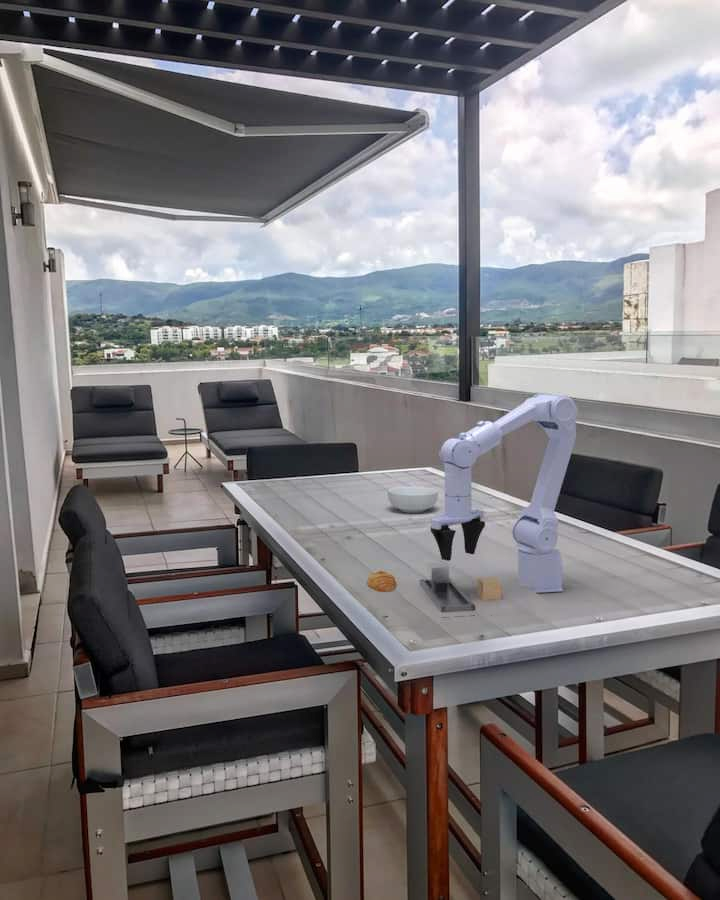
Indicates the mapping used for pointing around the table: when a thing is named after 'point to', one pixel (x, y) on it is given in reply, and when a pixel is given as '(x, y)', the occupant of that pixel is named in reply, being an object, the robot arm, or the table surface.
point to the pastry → (382, 581)
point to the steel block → (438, 576)
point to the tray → (449, 598)
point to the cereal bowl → (412, 498)
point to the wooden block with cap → (489, 588)
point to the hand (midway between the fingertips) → (458, 556)
